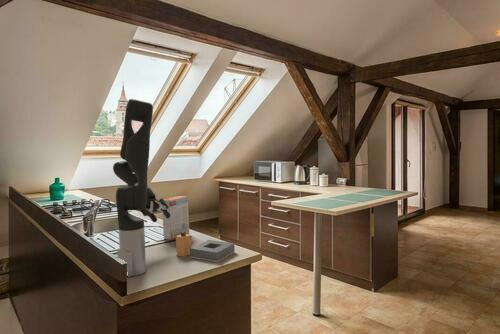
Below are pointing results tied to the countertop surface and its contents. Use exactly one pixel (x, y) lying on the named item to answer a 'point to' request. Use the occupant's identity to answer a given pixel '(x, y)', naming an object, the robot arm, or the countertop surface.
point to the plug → (183, 244)
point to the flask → (185, 229)
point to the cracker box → (175, 216)
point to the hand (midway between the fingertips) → (162, 219)
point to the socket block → (212, 250)
